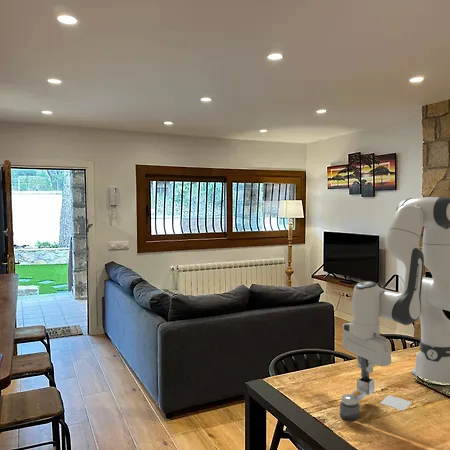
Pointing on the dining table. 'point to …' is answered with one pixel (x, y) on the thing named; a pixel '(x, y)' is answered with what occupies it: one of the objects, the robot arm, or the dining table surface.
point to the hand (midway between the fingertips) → (365, 370)
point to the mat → (396, 402)
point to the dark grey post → (364, 370)
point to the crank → (358, 393)
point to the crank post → (349, 412)
